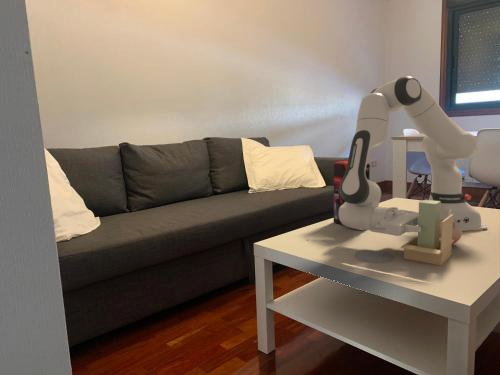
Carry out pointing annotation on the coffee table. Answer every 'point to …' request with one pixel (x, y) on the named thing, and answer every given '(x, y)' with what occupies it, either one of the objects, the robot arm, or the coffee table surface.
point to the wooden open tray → (427, 253)
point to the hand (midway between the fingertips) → (426, 226)
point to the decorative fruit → (455, 233)
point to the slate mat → (373, 256)
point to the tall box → (429, 224)
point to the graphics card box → (338, 176)
